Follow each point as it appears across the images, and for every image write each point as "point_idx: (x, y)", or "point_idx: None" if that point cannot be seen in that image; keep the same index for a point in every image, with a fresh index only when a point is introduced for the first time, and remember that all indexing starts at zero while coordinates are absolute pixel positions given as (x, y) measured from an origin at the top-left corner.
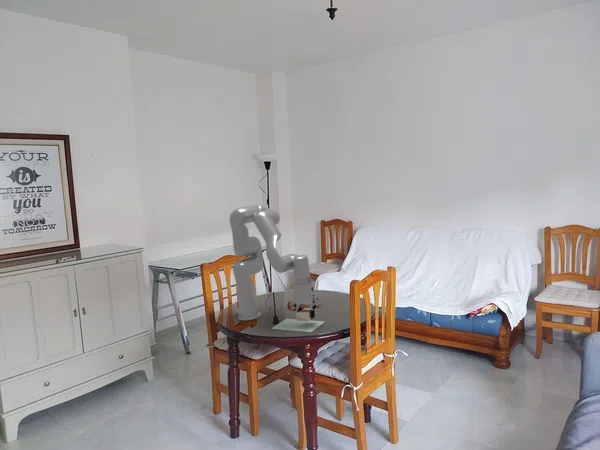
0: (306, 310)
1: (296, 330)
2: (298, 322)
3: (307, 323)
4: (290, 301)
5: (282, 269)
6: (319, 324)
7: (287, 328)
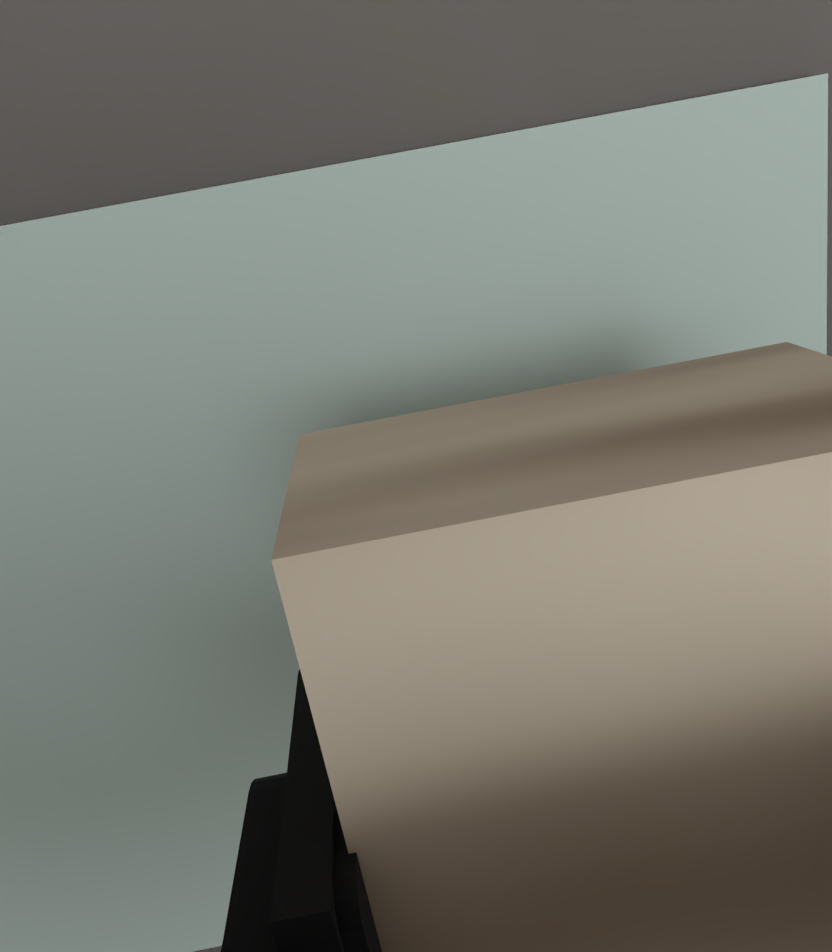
0: (663, 853)
1: None
2: (99, 474)
3: None
4: None
5: None
6: None
7: (179, 886)
